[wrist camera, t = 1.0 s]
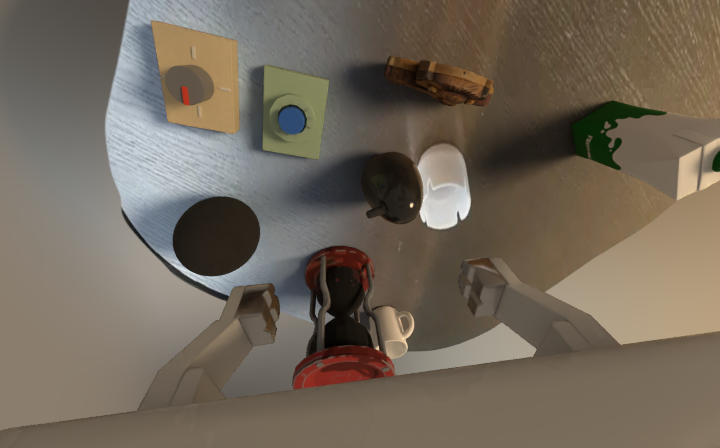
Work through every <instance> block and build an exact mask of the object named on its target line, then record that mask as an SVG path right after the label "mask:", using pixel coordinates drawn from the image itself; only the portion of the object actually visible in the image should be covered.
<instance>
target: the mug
mask: <svg viewBox="0 0 720 448" xmlns="http://www.w3.org/2000/svg"><path fill="white" fill-rule="evenodd" d="M373 312H374V313H376V314H377V315H378V316H379V318H380V320H381V325H382V331H383V336H384V342H385V347H386V352H387V356H388V357H390V359H395V358H398V357H400V356H402V355H403V354H404V353H406V351H407V348H408V347H407V343H406V338H408V337H409V336H410V335H411V333H412V332H413V329H414V319H413V317H412V315H411V314H410V313H409V312H407V311H400V312H398V311H397V310H396V309H395V308H393V307H390V306H382V307H379V308H376V309H375V310H373ZM403 316H406V317H407V318H408V321H409V326H408V328H407V330H406V331H405V332H404V331H403V328H402V324H401V320H400V318H401V317H403ZM369 322H370V329H371V335H372V341H373V345H374V349H376V350H379V345H378V339H377V333H376V327H375V322H374V320H373V319H372V318H371V317H369Z"/></svg>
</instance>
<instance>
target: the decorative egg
mask: <svg viewBox="0 0 720 448" xmlns="http://www.w3.org/2000/svg"><path fill="white" fill-rule="evenodd" d="M259 238H260V226H259V222H258V219H257V217H256V215H255V213H254V212H253V211H252V209H251V208H250V207H249V206H247V205H246V204H245V203H243V202H241V201H239V200H237V199H234V198H230V197H212V198H207V199H205V200H202V201H200V202H198V203H196V204H194V205H193V206H191V207H190V208H189V209H188V210H186V212H185V213H184V214H183V215H182V216H181V217H180V219H179V221H178V222H177V224H176V227H175V229H174V233H173V248H174V252H175V254H176V257H177V258H178V260H179V261H180V263H181V264H182V265H183V266H184V267H186V268H187V269H188V270H190V271H192V272H194V273H196V274H199V275H203V276H220V275H225V274H228V273H230V272H233V271H235V270H237V269H238V268H240V267H241V266H243V265H244V264H245V263H246V262H247V261H248V260H249V259H250V258H251V256H252V255H253V254H254V252H255V250H256V248H257V245H258V242H259Z"/></svg>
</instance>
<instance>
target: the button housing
mask: <svg viewBox="0 0 720 448" xmlns="http://www.w3.org/2000/svg"><path fill="white" fill-rule="evenodd" d="M328 84H329V79H326V78H321V77H317V76H313V75H309V74H305V73H300V72H296V71H292V70H288V69H284V68H279V67H275V66H271V65H264V94H263V150H265V151H271V152H277V153H283V154H288V155H294V156H300V157H305V158H311V159H317V160H318V158H319V151H320V143H321V136H322V129H323V121H324V114H325V107H326V99H327V92H328ZM289 106H293V107H296V108H298V109H300V110H301V111H302V113H303V114H304V117H305V124H304V127H303V129H302V131H301V132H300V133H298V134H294V135H291V134H288V133H286V132H284V131H283V130H282V129H281V127H280V125H279V122H278V118H279V115H280V113H281V112H282V110H283V109H284V108H286V107H289Z"/></svg>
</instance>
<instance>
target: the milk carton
mask: <svg viewBox="0 0 720 448" xmlns="http://www.w3.org/2000/svg"><path fill="white" fill-rule="evenodd" d="M571 127H572V132H573V138H574V143H575V149H576V154H577V156H580V157H584V158H587V159H590V160H593V161H596V162H599V163H601V164H604V165H606V166H608V167H611V168H613V169H616V170H618V171H621V172H623V173H626V174H628V175H631V176H633V177H635V178H638V179H640V180H642V181H644V182H646V183H648V184H650V185H651V186H653V187H655V188H657V189H658V190H660V191H662V192H663V193H665V194H667V195H668V196H670V197H672V198H673V199H675V200H679V199H681V198H683V197H685V196H687V195H689V194H691V193H693V192H695V191H700V190H702V189H705V188H707V187H708V186H709V185H711V184H713V183H716V182H718V181H720V119H714V118H698V117H692V116H686V115H680V114H675V113H669V112H663V111H658V110H652V109H646V108H641V107H636V106H632V105H628V104H624V103H620V102H617V101H613V100H612V101H611V102H609V103H607V104H606V105H604V106H602V107H601V108H599V109H597V110H596V111H594V112H592V113H591V114H589V115H587V116H586V117H584V118H582V119H581V120H579V121H577V122H576V123H574V124H572V125H571Z"/></svg>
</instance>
